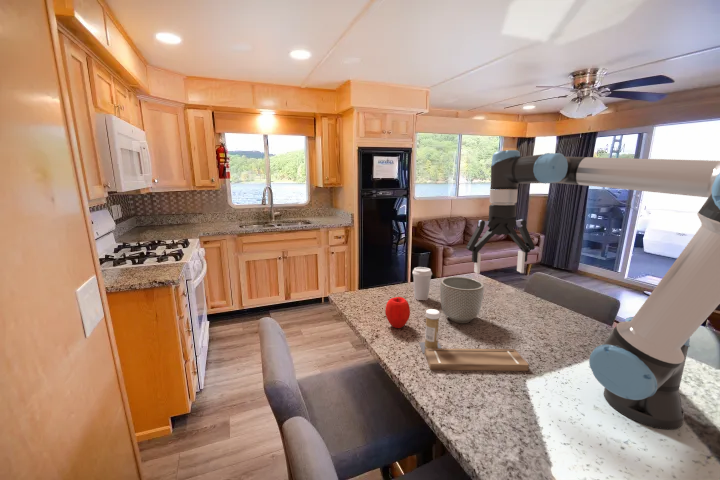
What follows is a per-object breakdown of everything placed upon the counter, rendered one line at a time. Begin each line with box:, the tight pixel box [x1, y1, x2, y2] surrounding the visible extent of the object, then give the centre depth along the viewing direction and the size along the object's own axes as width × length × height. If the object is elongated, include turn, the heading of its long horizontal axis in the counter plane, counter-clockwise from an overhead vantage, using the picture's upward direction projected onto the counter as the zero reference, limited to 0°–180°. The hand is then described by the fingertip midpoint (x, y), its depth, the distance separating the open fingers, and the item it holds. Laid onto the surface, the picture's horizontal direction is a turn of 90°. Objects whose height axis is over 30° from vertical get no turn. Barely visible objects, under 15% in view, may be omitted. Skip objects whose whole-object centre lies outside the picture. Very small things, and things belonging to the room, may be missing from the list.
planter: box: [439, 276, 485, 324], centre depth 128 cm, size 17×17×16 cm
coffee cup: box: [412, 266, 433, 301], centre depth 151 cm, size 10×10×15 cm
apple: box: [384, 296, 411, 329], centre depth 122 cm, size 10×10×12 cm
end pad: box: [418, 341, 442, 355], centre depth 107 cm, size 7×7×1 cm
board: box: [424, 347, 530, 372], centre depth 99 cm, size 9×30×2 cm, turn 89°
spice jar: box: [424, 308, 441, 348], centre depth 105 cm, size 5×5×13 cm
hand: (498, 272), depth 96 cm, fingers open, 13 cm apart
